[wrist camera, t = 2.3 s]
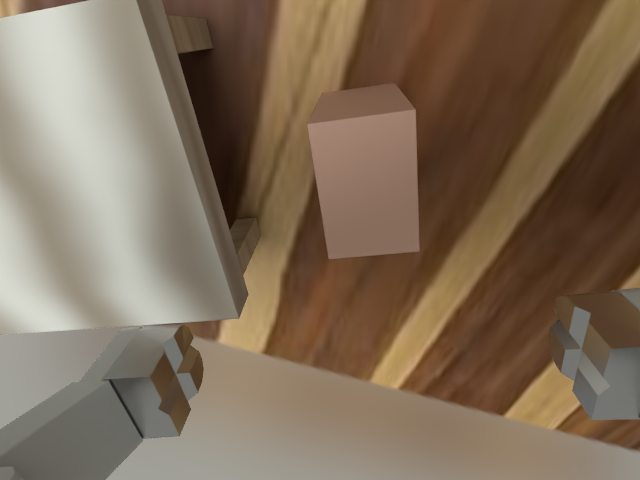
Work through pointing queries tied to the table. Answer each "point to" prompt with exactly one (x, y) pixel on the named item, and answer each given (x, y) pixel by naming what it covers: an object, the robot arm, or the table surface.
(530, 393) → the table surface
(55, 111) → the footstool
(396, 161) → the block
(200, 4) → the table surface
